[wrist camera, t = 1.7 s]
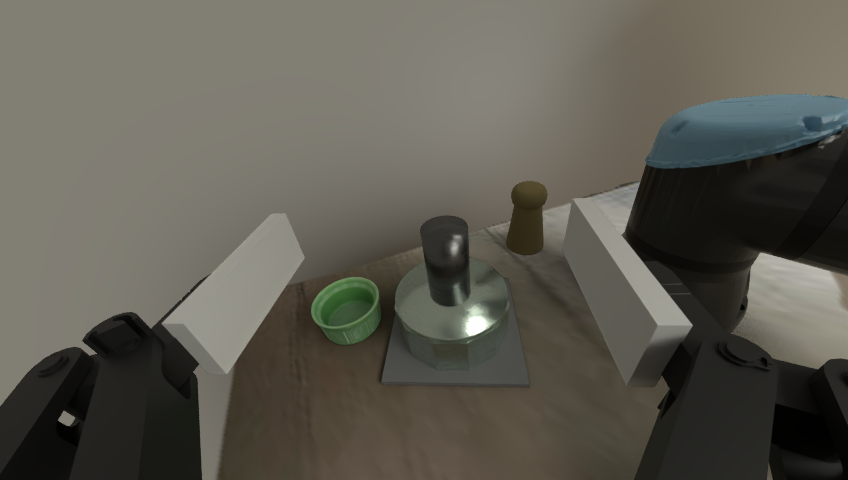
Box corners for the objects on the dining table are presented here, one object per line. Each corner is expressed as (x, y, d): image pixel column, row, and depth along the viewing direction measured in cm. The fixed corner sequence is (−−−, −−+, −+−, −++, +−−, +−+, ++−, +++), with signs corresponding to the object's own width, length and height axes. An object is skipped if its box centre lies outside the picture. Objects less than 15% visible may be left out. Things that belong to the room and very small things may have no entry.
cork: (543, 234, 52) (550, 176, 46) (543, 256, 48) (552, 195, 42) (507, 232, 54) (510, 176, 48) (505, 253, 50) (507, 194, 43)
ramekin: (396, 305, 43) (390, 283, 41) (363, 358, 37) (354, 336, 34) (346, 292, 47) (338, 271, 44) (307, 339, 40) (295, 318, 38)
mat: (507, 281, 44) (508, 278, 44) (529, 387, 32) (529, 384, 31) (402, 284, 47) (401, 281, 46) (382, 384, 34) (381, 381, 33)
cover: (499, 285, 43) (502, 193, 35) (513, 371, 32) (523, 269, 24) (409, 287, 45) (391, 200, 36) (395, 369, 34) (365, 274, 26)
